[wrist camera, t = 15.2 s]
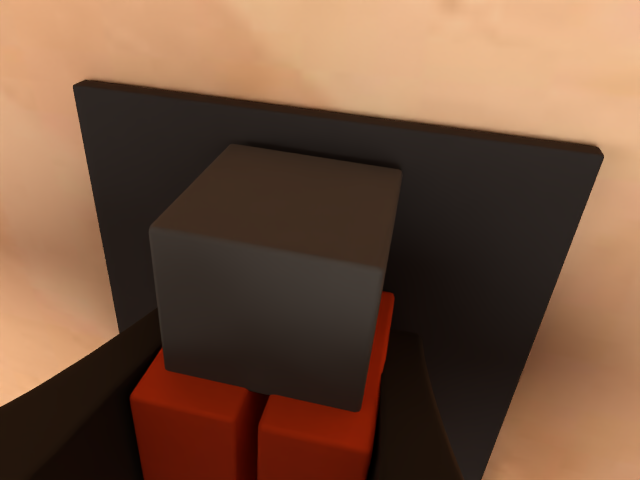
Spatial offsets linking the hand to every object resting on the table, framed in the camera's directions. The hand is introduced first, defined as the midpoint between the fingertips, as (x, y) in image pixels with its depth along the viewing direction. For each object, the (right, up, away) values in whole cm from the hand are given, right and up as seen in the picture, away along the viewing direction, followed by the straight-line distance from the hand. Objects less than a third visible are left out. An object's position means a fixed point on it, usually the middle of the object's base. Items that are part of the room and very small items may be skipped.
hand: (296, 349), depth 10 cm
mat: (0, +1, +1) cm, 1 cm away
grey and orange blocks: (0, 0, +1) cm, 1 cm away
